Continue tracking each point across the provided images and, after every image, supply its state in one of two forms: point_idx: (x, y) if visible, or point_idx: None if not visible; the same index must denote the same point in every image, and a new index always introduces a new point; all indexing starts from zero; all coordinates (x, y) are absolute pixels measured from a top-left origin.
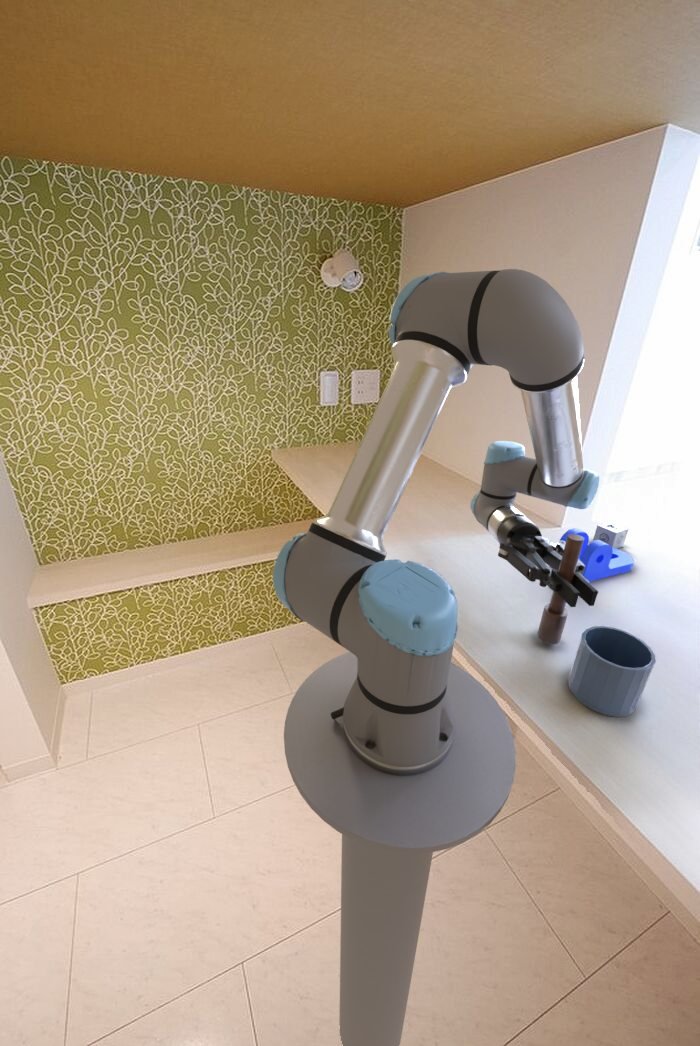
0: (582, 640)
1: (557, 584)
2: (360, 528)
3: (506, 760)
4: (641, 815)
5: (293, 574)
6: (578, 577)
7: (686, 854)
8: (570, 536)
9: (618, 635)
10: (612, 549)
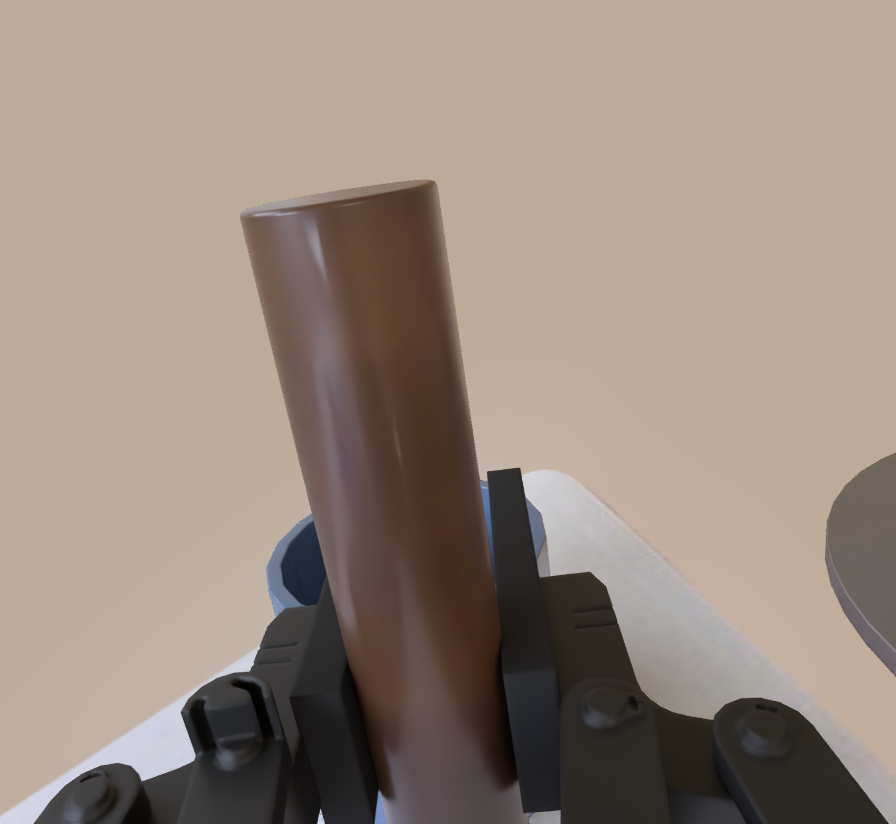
0: (538, 554)
1: (578, 573)
2: None
3: (853, 526)
4: (566, 501)
5: None
6: None
7: (528, 474)
8: (393, 189)
9: None
10: None
